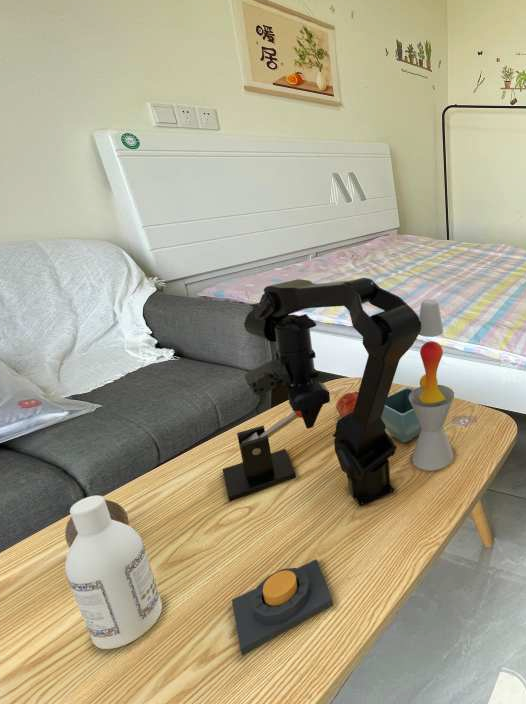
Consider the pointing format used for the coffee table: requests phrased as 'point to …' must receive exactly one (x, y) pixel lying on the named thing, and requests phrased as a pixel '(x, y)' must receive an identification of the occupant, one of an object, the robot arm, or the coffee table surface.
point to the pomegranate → (346, 404)
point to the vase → (115, 514)
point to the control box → (280, 608)
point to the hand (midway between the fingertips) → (304, 418)
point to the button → (280, 588)
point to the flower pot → (401, 416)
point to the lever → (275, 427)
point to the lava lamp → (431, 397)
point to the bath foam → (110, 576)
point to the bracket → (257, 466)
